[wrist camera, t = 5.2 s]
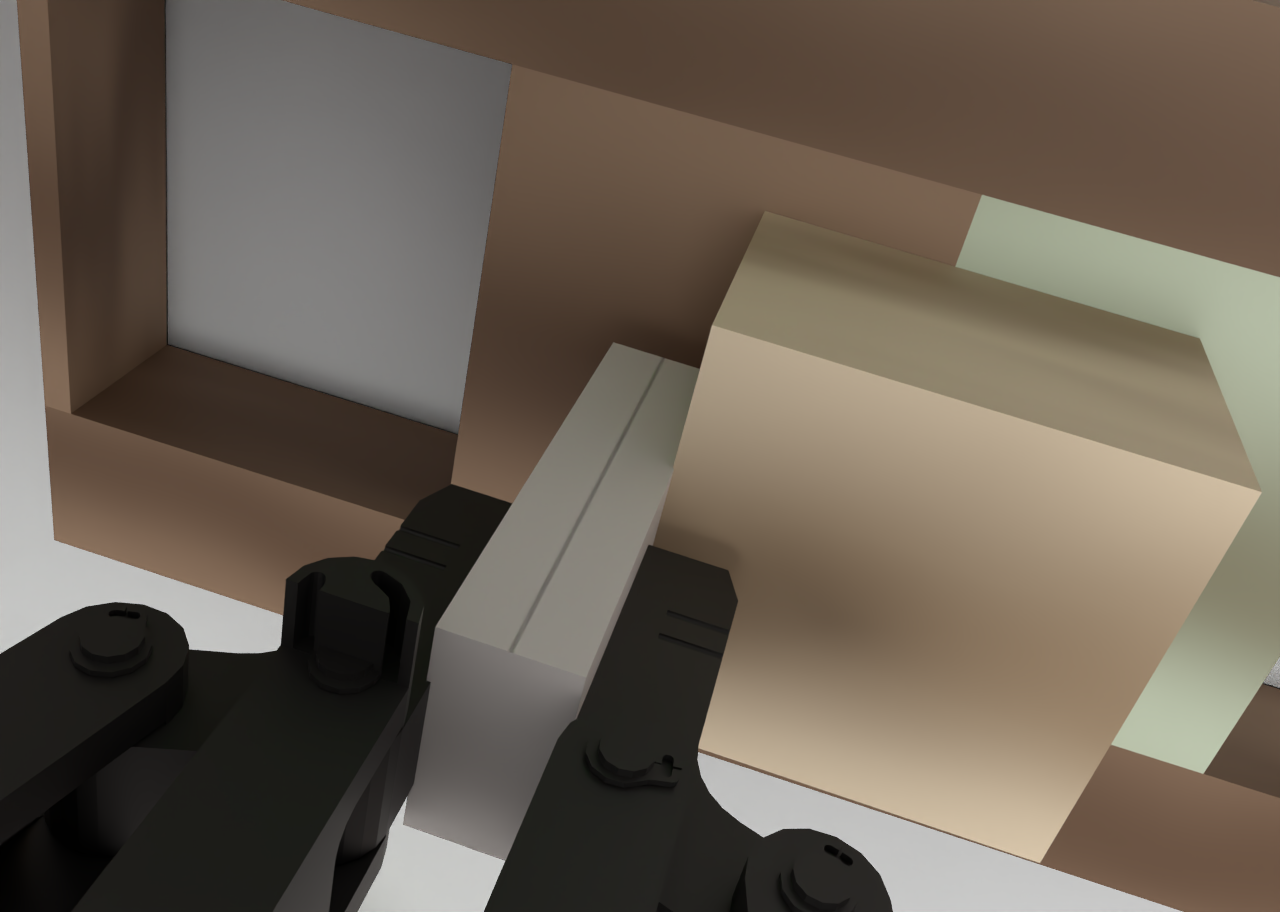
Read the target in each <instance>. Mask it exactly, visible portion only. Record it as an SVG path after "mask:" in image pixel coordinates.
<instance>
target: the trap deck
mask: <svg viewBox="0 0 1280 912" xmlns="http://www.w3.org/2000/svg"><path fill="white" fill-rule="evenodd" d="M283 1H286V2H290V3H294V4H297V5H301V6H304V7H308V8H312V9H315V10H319V11H322V12H326V13H330V14H333V15H337V16H340V17H344V18H348V19H351V20H355V21H358V22H362V23H366V24H369V25H373V26H376V27H380V28H384V29H387V30H391V31H394V32H398V33H402V34H405V35H409V36H412V37H416V38H420V39H423V40H427V41H430V42H434V43H438V44H441V45H445V46H448V47H452V48H456V49H459V50H463V51H466V52H470V53H474V54H477V55H481V56H484V57H488V58H492V59H495V60H499V61H502V62H506V63H510V64H512V69H511V76H510V83H509V90H508V97H507V104H506V110H505V117H504V124H503V131H502V138H501V145H500V151H499V158H498V165H497V172H496V179H495V186H494V192H493V199H492V206H491V213H490V220H489V227H488V234H487V240H486V247H485V254H484V261H483V268H482V275H481V281H480V288H479V295H478V302H477V309H476V316H475V322H474V329H473V336H472V343H471V350H470V357H469V364H468V370H467V377H466V384H465V391H464V398H463V405H462V411H461V418H460V425H459V432H458V435H457V434H453V433H450V432H447V431H444V430H441V429H437V428H434V427H431V426H428V425H424V424H421V423H418V422H415V421H411V420H408V419H405V418H402V417H399V416H395V415H392V414H389V413H386V412H382V411H379V410H376V409H373V408H369V407H366V406H363V405H360V404H357V403H353V402H350V401H347V400H344V399H340V398H337V397H334V396H331V395H327V394H324V393H321V392H318V391H315V390H311V389H308V388H305V387H302V386H298V385H295V384H292V383H289V382H285V381H282V380H279V379H276V378H273V377H269V376H266V375H263V374H260V373H256V372H253V371H250V370H247V369H243V368H240V367H237V366H234V365H231V364H227V363H224V362H221V361H218V360H214V359H211V358H208V357H205V356H201V355H198V354H195V353H192V352H189V351H185V350H182V349H179V348H176V347H172V346H169V345H167V287H166V130H165V0H17V9H18V24H19V38H20V52H21V67H22V81H23V96H24V110H25V124H26V139H27V153H28V168H29V182H30V196H31V211H32V225H33V239H34V254H35V268H36V283H37V297H38V311H39V326H40V340H41V355H42V369H43V383H44V398H45V412H46V426H47V441H48V455H49V470H50V484H51V498H52V513H53V527H54V540H56V541H59V542H62V543H65V544H68V545H71V546H74V547H77V548H80V549H83V550H86V551H89V552H92V553H95V554H98V555H102V556H105V557H108V558H111V559H114V560H117V561H120V562H123V563H126V564H129V565H132V566H135V567H138V568H141V569H144V570H147V571H150V572H153V573H156V574H159V575H162V576H165V577H168V578H171V579H174V580H177V581H181V582H184V583H187V584H190V585H193V586H196V587H199V588H202V589H205V590H208V591H211V592H214V593H217V594H220V595H223V596H226V597H229V598H232V599H235V600H238V601H241V602H244V603H247V604H250V605H253V606H256V607H260V608H263V609H266V610H269V611H272V612H275V613H278V614H281V615H283V612H284V598H285V585H286V579H287V578H288V577H289V576H291V575H292V574H293V573H295V572H296V571H297V570H299V569H300V568H301V567H302V566H304V565H307V564H310V563H313V562H316V561H319V560H322V559H326V558H333V557H353V556H355V557H360V558H366V559H371V560H375V559H376V557H377V556H378V555H379V553H380V552H381V551H384V549H385V545H386V544H387V543H388V541H389V540H390V539H391V537H392V536H393V535H394V533H395V532H396V531H397V530H398V531H399V529H400V526H401V524H402V523H403V522H404V520H405V519H406V518H407V516H408V515H409V514H410V512H411V511H412V510H413V508H414V507H415V506H416V504H417V503H418V502H419V500H421V499H423V498H425V497H427V496H429V495H431V494H433V493H435V492H437V491H439V490H441V489H443V488H445V487H447V486H449V485H451V484H454V485H457V486H460V487H463V488H466V489H469V490H472V491H476V492H479V493H482V494H485V495H488V496H491V497H494V498H497V499H500V500H503V501H507V502H510V503H513V502H514V500H515V499H516V497H517V496H518V494H519V492H520V491H521V489H522V488H523V486H524V484H525V483H526V481H527V480H528V478H529V476H530V475H531V473H532V472H533V470H534V468H535V467H536V465H537V464H538V462H539V460H540V459H541V457H542V456H543V454H544V452H545V451H546V449H547V448H548V446H549V444H550V443H551V441H552V440H553V438H554V436H555V435H556V433H557V432H558V430H559V428H560V427H561V425H562V424H563V422H564V420H565V419H566V417H567V416H568V414H569V412H570V411H571V409H572V408H573V406H574V404H575V403H576V401H577V400H578V398H579V396H580V395H581V393H582V392H583V390H584V388H585V387H586V385H587V384H588V382H589V380H590V379H591V377H592V376H593V374H594V372H595V371H596V369H597V368H598V366H599V364H600V363H601V361H602V360H603V358H604V356H605V355H606V353H607V352H608V350H609V348H610V347H611V345H612V344H613V342H614V343H617V344H621V345H624V346H627V347H630V348H634V349H637V350H640V351H643V352H647V353H650V354H653V355H656V356H660V357H663V358H666V359H669V360H672V361H675V362H679V363H682V364H685V365H688V366H692V367H695V368H698V369H700V367H701V363H702V360H703V356H704V353H705V349H706V345H707V342H708V338H709V334H710V331H711V327H712V324H713V322H714V320H715V318H716V316H717V313H718V311H719V309H720V307H721V305H722V303H723V300H724V298H725V296H726V294H727V292H728V290H729V287H730V285H731V283H732V281H733V279H734V277H735V274H736V272H737V270H738V268H739V266H740V264H741V262H742V259H743V257H744V255H745V253H746V251H747V249H748V246H749V244H750V242H751V240H752V238H753V236H754V233H755V231H756V229H757V227H758V225H759V223H760V220H761V218H762V216H763V214H764V212H765V211H767V212H771V213H774V214H777V215H781V216H784V217H788V218H791V219H795V220H798V221H801V222H805V223H808V224H812V225H815V226H818V227H822V228H825V229H829V230H832V231H835V232H839V233H842V234H846V235H849V236H852V237H856V238H859V239H863V240H866V241H869V242H873V243H876V244H880V245H883V246H886V247H890V248H893V249H897V250H900V251H903V252H907V253H910V254H914V255H917V256H920V257H924V258H927V259H931V260H934V261H937V262H941V263H944V264H948V265H951V266H954V267H958V268H961V269H965V270H968V271H972V272H975V273H978V274H982V275H985V276H989V277H992V278H995V279H999V280H1002V281H1006V282H1009V283H1012V284H1016V285H1019V286H1023V287H1026V288H1029V289H1033V290H1036V291H1040V292H1043V293H1046V294H1050V295H1053V296H1057V297H1060V298H1063V299H1067V300H1070V301H1074V302H1077V303H1080V304H1084V305H1087V306H1091V307H1094V308H1097V309H1101V310H1104V311H1108V312H1111V313H1114V314H1118V315H1121V316H1125V317H1128V318H1131V319H1135V320H1138V321H1142V322H1145V323H1149V324H1152V325H1155V326H1159V327H1162V328H1166V329H1169V330H1172V331H1176V332H1179V333H1183V334H1186V335H1189V336H1193V337H1196V338H1200V340H1201V342H1202V345H1203V347H1204V350H1205V352H1206V355H1207V357H1208V360H1209V362H1210V365H1211V367H1212V370H1213V372H1214V375H1215V377H1216V380H1217V382H1218V385H1219V387H1220V389H1221V392H1222V394H1223V397H1224V399H1225V402H1226V404H1227V407H1228V409H1229V412H1230V414H1231V417H1232V419H1233V422H1234V424H1235V427H1236V429H1237V432H1238V434H1239V436H1240V439H1241V441H1242V444H1243V446H1244V449H1245V451H1246V454H1247V456H1248V459H1249V461H1250V464H1251V466H1252V469H1253V471H1254V474H1255V476H1256V479H1257V481H1258V483H1259V486H1260V488H1261V491H1262V493H1261V495H1260V496H1259V498H1258V500H1257V501H1256V503H1255V505H1254V506H1253V508H1252V510H1251V511H1250V513H1249V515H1248V516H1247V518H1246V520H1245V521H1244V523H1243V525H1242V526H1241V528H1240V530H1239V531H1238V533H1237V535H1236V537H1235V538H1234V540H1233V542H1232V543H1231V545H1230V547H1229V548H1228V550H1227V552H1226V553H1225V555H1224V557H1223V558H1222V560H1221V562H1220V563H1219V565H1218V567H1217V568H1216V570H1215V572H1214V573H1213V575H1212V577H1211V578H1210V580H1209V582H1208V583H1207V585H1206V587H1205V588H1204V590H1203V592H1202V593H1201V595H1200V597H1199V598H1198V600H1197V602H1196V603H1195V605H1194V607H1193V608H1192V610H1191V612H1190V613H1189V615H1188V617H1187V618H1186V620H1185V622H1184V623H1183V625H1182V627H1181V628H1180V630H1179V632H1178V633H1177V635H1176V637H1175V638H1174V640H1173V642H1172V643H1171V645H1170V647H1169V648H1168V650H1167V652H1166V653H1165V655H1164V657H1163V658H1162V660H1161V662H1160V663H1159V665H1158V667H1157V668H1156V670H1155V672H1154V673H1153V675H1152V677H1151V678H1150V680H1149V682H1148V683H1147V685H1146V687H1145V688H1144V690H1143V692H1142V693H1141V695H1140V697H1139V698H1138V700H1137V702H1136V703H1135V705H1134V707H1133V708H1132V710H1131V712H1130V714H1129V715H1128V717H1127V719H1126V720H1125V722H1124V724H1123V725H1122V727H1121V729H1120V730H1119V732H1118V734H1117V735H1116V737H1115V739H1114V740H1113V742H1112V744H1111V745H1110V747H1109V749H1108V750H1107V752H1106V754H1105V755H1104V757H1103V759H1102V760H1101V762H1100V764H1099V765H1098V767H1097V769H1096V770H1095V772H1094V774H1093V775H1092V777H1091V779H1090V780H1089V782H1088V784H1087V785H1086V787H1085V789H1084V790H1083V792H1082V794H1081V795H1080V797H1079V799H1078V800H1077V802H1076V804H1075V805H1074V807H1073V809H1072V810H1071V812H1070V814H1069V815H1068V817H1067V819H1066V820H1065V822H1064V824H1063V825H1062V827H1061V829H1060V830H1059V832H1058V834H1057V835H1056V837H1055V839H1054V840H1053V842H1052V844H1051V845H1050V847H1049V849H1048V850H1047V852H1046V854H1045V855H1044V857H1043V859H1042V860H1041V862H1040V863H1038V862H1035V861H1032V860H1029V859H1026V858H1023V857H1020V856H1017V855H1014V854H1011V853H1008V852H1005V851H1002V850H999V849H996V848H993V847H990V846H987V845H984V844H981V843H978V842H976V841H973V840H970V839H967V838H964V837H961V836H958V835H955V834H952V833H949V832H946V831H943V830H940V829H937V828H934V827H931V826H928V825H925V824H922V823H919V822H916V821H913V820H910V819H907V818H904V817H901V816H898V815H895V814H892V813H889V812H886V811H884V810H881V809H878V808H875V807H872V806H869V805H866V804H863V803H860V802H857V801H854V800H851V799H848V798H845V797H842V796H839V795H836V794H833V793H830V792H827V791H824V790H821V789H818V788H815V787H812V786H809V785H806V784H803V783H800V782H797V781H794V780H792V779H789V778H786V777H783V776H780V775H777V774H774V773H771V772H768V771H765V770H762V769H759V768H756V767H753V766H750V765H747V764H744V763H741V762H738V761H735V760H732V759H729V758H726V757H723V756H720V755H717V754H714V753H711V752H708V751H705V750H702V749H700V748H698V752H700V753H703V754H706V755H709V756H712V757H715V758H718V759H721V760H724V761H727V762H730V763H734V764H737V765H740V766H743V767H746V768H749V769H752V770H755V771H758V772H761V773H764V774H767V775H770V776H773V777H776V778H779V779H782V780H785V781H788V782H791V783H794V784H797V785H800V786H803V787H806V788H810V789H813V790H816V791H819V792H822V793H825V794H828V795H831V796H834V797H837V798H840V799H843V800H846V801H849V802H852V803H855V804H858V805H861V806H864V807H867V808H870V809H873V810H876V811H879V812H882V813H885V814H889V815H892V816H895V817H898V818H901V819H904V820H907V821H910V822H913V823H916V824H919V825H922V826H925V827H928V828H931V829H934V830H937V831H940V832H943V833H946V834H949V835H952V836H955V837H958V838H961V839H964V840H968V841H971V842H974V843H977V844H980V845H983V846H986V847H989V848H992V849H995V850H998V851H1001V852H1004V853H1007V854H1010V855H1013V856H1016V857H1019V858H1022V859H1025V860H1028V861H1031V862H1034V863H1037V864H1040V865H1043V866H1047V867H1050V868H1053V869H1056V870H1059V871H1062V872H1065V873H1068V874H1071V875H1074V876H1077V877H1080V878H1083V879H1086V880H1089V881H1092V882H1095V883H1098V884H1101V885H1104V886H1107V887H1110V888H1113V889H1116V890H1119V891H1122V892H1126V893H1129V894H1132V895H1135V896H1138V897H1141V898H1144V899H1147V900H1150V901H1153V902H1156V903H1159V904H1162V905H1165V906H1168V907H1171V908H1174V909H1177V910H1180V911H1183V912H1280V689H1277V688H1274V687H1271V686H1268V685H1264V684H1262V683H1263V682H1264V680H1265V679H1266V677H1267V676H1268V674H1269V673H1270V671H1271V669H1272V668H1273V666H1274V665H1275V663H1276V662H1277V660H1278V659H1279V657H1280V0H283Z"/></svg>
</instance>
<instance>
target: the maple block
mask: <svg viewBox="0 0 1280 912" xmlns="http://www.w3.org/2000/svg"><path fill="white" fill-rule="evenodd" d="M673 468H674V471H673V474H672V478H671V481H670V485H669V489H668V492H667V496H666V500H665V503H664V507H663V510H662V514H661V518H660V521H659V525H658V528H657V532H656V536H655V539H654V543H653V546H655V547H658V548H661V549H664V550H667V551H670V552H673V553H676V554H680V555H683V556H686V557H689V558H692V559H695V560H698V561H701V562H704V563H708V564H711V565H714V566H717V567H720V568H723V569H726V570H729V574H730V577H731V580H732V583H733V586H734V589H735V593H736V596H737V599H738V604H737V607H736V611H735V615H734V618H733V622H732V626H731V629H730V633H729V637H728V640H727V644H726V647H725V651H724V655H723V658H722V662H721V666H720V669H719V673H718V676H717V680H716V684H715V687H714V691H713V695H712V698H711V702H710V706H709V709H708V713H707V716H706V720H705V724H704V727H703V731H702V735H701V738H700V742H699V747H698V748H700V749H702V750H705V751H708V752H711V753H714V754H717V755H720V756H723V757H726V758H729V759H732V760H735V761H738V762H741V763H744V764H747V765H750V766H753V767H756V768H759V769H762V770H765V771H768V772H771V773H774V774H777V775H780V776H783V777H786V778H789V779H792V780H794V781H797V782H800V783H803V784H806V785H809V786H812V787H815V788H818V789H821V790H824V791H827V792H830V793H833V794H836V795H839V796H842V797H845V798H848V799H851V800H854V801H857V802H860V803H863V804H866V805H869V806H872V807H875V808H878V809H881V810H884V811H886V812H889V813H892V814H895V815H898V816H901V817H904V818H907V819H910V820H913V821H916V822H919V823H922V824H925V825H928V826H931V827H934V828H937V829H940V830H943V831H946V832H949V833H952V834H955V835H958V836H961V837H964V838H967V839H970V840H973V841H976V842H978V843H981V844H984V845H987V846H990V847H993V848H996V849H999V850H1002V851H1005V852H1008V853H1011V854H1014V855H1017V856H1020V857H1023V858H1026V859H1029V860H1032V861H1035V862H1038V863H1040V862H1041V860H1042V859H1043V857H1044V855H1045V854H1046V852H1047V850H1048V849H1049V847H1050V845H1051V844H1052V842H1053V840H1054V839H1055V837H1056V835H1057V834H1058V832H1059V830H1060V829H1061V827H1062V825H1063V824H1064V822H1065V820H1066V819H1067V817H1068V815H1069V814H1070V812H1071V810H1072V809H1073V807H1074V805H1075V804H1076V802H1077V800H1078V799H1079V797H1080V795H1081V794H1082V792H1083V790H1084V789H1085V787H1086V785H1087V784H1088V782H1089V780H1090V779H1091V777H1092V775H1093V774H1094V772H1095V770H1096V769H1097V767H1098V765H1099V764H1100V762H1101V760H1102V759H1103V757H1104V755H1105V754H1106V752H1107V750H1108V749H1109V747H1110V745H1111V744H1112V742H1113V740H1114V739H1115V737H1116V735H1117V734H1118V732H1119V730H1120V729H1121V727H1122V725H1123V724H1124V722H1125V720H1126V719H1127V717H1128V715H1129V714H1130V712H1131V710H1132V708H1133V707H1134V705H1135V703H1136V702H1137V700H1138V698H1139V697H1140V695H1141V693H1142V692H1143V690H1144V688H1145V687H1146V685H1147V683H1148V682H1149V680H1150V678H1151V677H1152V675H1153V673H1154V672H1155V670H1156V668H1157V667H1158V665H1159V663H1160V662H1161V660H1162V658H1163V657H1164V655H1165V653H1166V652H1167V650H1168V648H1169V647H1170V645H1171V643H1172V642H1173V640H1174V638H1175V637H1176V635H1177V633H1178V632H1179V630H1180V628H1181V627H1182V625H1183V623H1184V622H1185V620H1186V618H1187V617H1188V615H1189V613H1190V612H1191V610H1192V608H1193V607H1194V605H1195V603H1196V602H1197V600H1198V598H1199V597H1200V595H1201V593H1202V592H1203V590H1204V588H1205V587H1206V585H1207V583H1208V582H1209V580H1210V578H1211V577H1212V575H1213V573H1214V572H1215V570H1216V568H1217V567H1218V565H1219V563H1220V562H1221V560H1222V558H1223V557H1224V555H1225V553H1226V552H1227V550H1228V548H1229V547H1230V545H1231V543H1232V542H1233V540H1234V538H1235V537H1236V535H1237V533H1238V531H1239V530H1240V528H1241V526H1242V525H1243V523H1244V521H1245V520H1246V518H1247V516H1248V515H1249V513H1250V511H1251V510H1252V508H1253V506H1254V505H1255V503H1256V501H1257V500H1258V498H1259V496H1260V495H1261V493H1262V491H1261V488H1260V486H1259V483H1258V481H1257V479H1256V476H1255V474H1254V471H1253V469H1252V466H1251V464H1250V461H1249V459H1248V456H1247V454H1246V451H1245V449H1244V446H1243V444H1242V441H1241V439H1240V436H1239V434H1238V432H1237V429H1236V427H1235V424H1234V422H1233V419H1232V417H1231V414H1230V412H1229V409H1228V407H1227V404H1226V402H1225V399H1224V397H1223V394H1222V392H1221V389H1220V387H1219V385H1218V382H1217V380H1216V377H1215V375H1214V372H1213V370H1212V367H1211V365H1210V362H1209V360H1208V357H1207V355H1206V352H1205V350H1204V347H1203V345H1202V342H1201V340H1200V338H1196V337H1193V336H1189V335H1186V334H1183V333H1179V332H1176V331H1172V330H1169V329H1166V328H1162V327H1159V326H1155V325H1152V324H1149V323H1145V322H1142V321H1138V320H1135V319H1131V318H1128V317H1125V316H1121V315H1118V314H1114V313H1111V312H1108V311H1104V310H1101V309H1097V308H1094V307H1091V306H1087V305H1084V304H1080V303H1077V302H1074V301H1070V300H1067V299H1063V298H1060V297H1057V296H1053V295H1050V294H1046V293H1043V292H1040V291H1036V290H1033V289H1029V288H1026V287H1023V286H1019V285H1016V284H1012V283H1009V282H1006V281H1002V280H999V279H995V278H992V277H989V276H985V275H982V274H978V273H975V272H972V271H968V270H965V269H961V268H958V267H954V266H951V265H948V264H944V263H941V262H937V261H934V260H931V259H927V258H924V257H920V256H917V255H914V254H910V253H907V252H903V251H900V250H897V249H893V248H890V247H886V246H883V245H880V244H876V243H873V242H869V241H866V240H863V239H859V238H856V237H852V236H849V235H846V234H842V233H839V232H835V231H832V230H829V229H825V228H822V227H818V226H815V225H812V224H808V223H805V222H801V221H798V220H795V219H791V218H788V217H784V216H781V215H777V214H774V213H771V212H767V211H765V212H764V214H763V216H762V218H761V220H760V223H759V225H758V227H757V229H756V231H755V233H754V236H753V238H752V240H751V242H750V244H749V246H748V249H747V251H746V253H745V255H744V257H743V259H742V262H741V264H740V266H739V268H738V270H737V272H736V274H735V277H734V279H733V281H732V283H731V285H730V287H729V290H728V292H727V294H726V296H725V298H724V300H723V303H722V305H721V307H720V309H719V311H718V313H717V316H716V318H715V320H714V322H713V324H712V327H711V331H710V334H709V338H708V342H707V345H706V349H705V353H704V356H703V360H702V363H701V367H700V371H699V374H698V378H697V382H696V385H695V389H694V393H693V396H692V400H691V404H690V407H689V411H688V414H687V418H686V422H685V425H684V429H683V433H682V436H681V440H680V444H679V447H678V451H677V454H676V458H675V462H674V465H673Z"/></svg>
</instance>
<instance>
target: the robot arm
mask: <svg viewBox="0 0 1280 912" xmlns="http://www.w3.org/2000/svg"><path fill="white" fill-rule="evenodd" d="M699 371H700V369H698V368H695V367H692V366H688V365H685V364H682V363H679V362H675V361H672V360H669V359H666V358H663V357H660V356H656V355H653V354H650V353H647V352H643V351H640V350H637V349H634V348H630V347H627V346H624V345H621V344H617V343H614V342H613V344H612V345H611V347H610V348H609V350H608V352H607V353H606V355H605V356H604V358H603V360H602V361H601V363H600V364H599V366H598V368H597V369H596V371H595V372H594V374H593V376H592V377H591V379H590V380H589V382H588V384H587V385H586V387H585V388H584V390H583V392H582V393H581V395H580V396H579V398H578V400H577V401H576V403H575V404H574V406H573V408H572V409H571V411H570V412H569V414H568V416H567V417H566V419H565V420H564V422H563V424H562V425H561V427H560V428H559V430H558V432H557V433H556V435H555V436H554V438H553V440H552V441H551V443H550V444H549V446H548V448H547V449H546V451H545V452H544V454H543V456H542V457H541V459H540V460H539V462H538V464H537V465H536V467H535V468H534V470H533V472H532V473H531V475H530V476H529V478H528V480H527V481H526V483H525V484H524V486H523V488H522V489H521V491H520V492H519V494H518V496H517V497H516V499H515V500H514V502H513V503H510V502H507V501H503V500H500V499H497V498H494V497H491V496H488V495H485V494H482V493H479V492H476V491H472V490H469V489H466V488H463V487H460V486H457V485H454V484H451V485H449V486H447V487H445V488H443V489H441V490H439V491H437V492H435V493H433V494H431V495H429V496H427V497H425V498H423V499H421V500H419V502H418V503H417V504H416V506H415V507H414V508H413V510H412V511H411V512H410V514H409V515H408V516H407V518H406V519H405V520H404V522H403V523H402V524H401V526H400V529H399V531H398V530H397V531H396V532H395V533H394V535H393V536H392V537H391V539H390V540H389V541H388V543H387V544H386V545H385V549H384V551H381V552H380V553H379V555H378V556H377V557H376V559H375V560H371V559H366V558H360V557H355V556H353V557H333V558H326V559H322V560H319V561H316V562H313V563H310V564H307V565H304V566H302V567H301V568H300V569H299V570H297V571H296V572H295V573H293V574H292V575H291V576H289V577H288V578H287V579H286V585H285V598H284V612H283V625H282V638H281V646H280V647H279V648H278V650H277V651H271V652H265V653H225V652H213V651H201V650H189V644H188V641H187V638H186V635H185V632H184V629H183V627H182V626H180V625H179V624H178V623H177V622H176V621H175V620H174V619H173V618H172V617H170V616H169V615H168V614H167V613H164V612H162V611H159V610H156V609H154V608H151V607H148V606H146V605H141V604H130V603H118V602H114V603H107V604H101V605H94V606H88V607H85V608H82V609H80V610H77V611H75V612H73V613H70V614H68V615H66V616H63V617H61V618H59V619H57V620H56V621H54V622H52V623H51V624H49V625H47V626H46V627H44V628H42V629H41V630H39V631H37V632H36V633H34V634H32V635H31V636H29V637H27V638H26V639H24V640H23V641H21V642H19V643H18V644H16V645H14V646H13V647H11V648H9V649H8V650H6V651H4V652H3V653H1V654H0V912H357V911H358V910H359V908H360V906H361V904H362V902H363V900H364V898H365V897H366V895H367V893H368V891H369V889H370V887H371V885H372V883H373V882H374V880H375V878H376V876H377V874H378V872H379V870H380V868H381V866H382V862H383V859H384V855H385V851H386V848H387V841H388V835H389V828H390V827H391V825H392V823H393V821H394V819H395V817H396V816H397V814H398V812H399V810H400V808H401V806H402V805H403V803H404V801H405V799H406V797H407V796H408V797H407V803H406V809H405V815H404V821H403V825H406V826H409V827H412V828H414V829H417V830H420V831H423V832H426V833H429V834H431V835H434V836H437V837H440V838H443V839H446V840H449V841H451V842H454V843H457V844H460V845H463V846H466V847H468V848H471V849H473V850H476V851H479V852H482V853H485V854H488V855H491V856H493V857H496V858H499V859H502V860H505V863H504V866H503V868H502V870H501V873H500V875H499V877H498V880H497V882H496V884H495V887H494V889H493V891H492V894H491V896H490V898H489V901H488V903H487V905H486V908H485V910H484V912H893V910H892V905H891V900H890V897H889V895H888V893H887V890H886V888H885V885H884V883H883V881H882V878H881V876H880V874H879V873H878V872H877V871H876V870H875V868H874V867H873V866H872V865H871V864H870V863H869V862H868V860H867V859H866V858H865V857H864V856H863V855H862V854H861V853H860V852H859V851H857V850H856V849H854V848H852V847H851V846H849V845H848V844H846V843H845V842H843V841H842V840H840V839H839V838H837V837H835V836H831V835H828V834H825V833H821V832H818V831H815V830H812V829H782V830H780V831H778V832H776V833H773V834H771V835H769V836H766V837H764V838H763V837H762V836H760V835H759V834H757V833H756V832H754V831H753V830H751V829H749V828H748V827H746V826H745V825H743V824H742V823H740V822H739V821H738V820H737V819H735V818H734V817H733V816H732V815H730V814H729V813H728V812H727V811H725V810H724V809H723V808H722V807H721V806H720V805H719V804H718V802H717V801H716V800H715V799H714V798H713V796H712V795H711V794H710V793H709V791H708V789H707V787H706V785H705V783H704V781H703V779H702V778H701V775H700V770H699V766H698V761H697V757H698V747H699V742H700V738H701V735H702V731H703V727H704V724H705V720H706V716H707V713H708V709H709V706H710V702H711V698H712V695H713V691H714V687H715V684H716V680H717V676H718V673H719V669H720V666H721V662H722V658H723V655H724V651H725V647H726V644H727V640H728V637H729V633H730V629H731V626H732V622H733V618H734V615H735V611H736V607H737V604H738V599H737V596H736V593H735V589H734V586H733V583H732V580H731V577H730V574H729V570H726V569H723V568H720V567H717V566H714V565H711V564H708V563H704V562H701V561H698V560H695V559H692V558H689V557H686V556H683V555H680V554H676V553H673V552H670V551H667V550H664V549H661V548H658V547H655V546H653V543H654V539H655V536H656V532H657V528H658V525H659V521H660V518H661V514H662V510H663V507H664V503H665V500H666V496H667V492H668V489H669V485H670V481H671V478H672V474H673V471H674V468H673V465H674V462H675V458H676V454H677V451H678V447H679V444H680V440H681V436H682V433H683V429H684V425H685V422H686V418H687V414H688V411H689V407H690V404H691V400H692V396H693V393H694V389H695V385H696V382H697V378H698V374H699Z"/></svg>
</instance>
